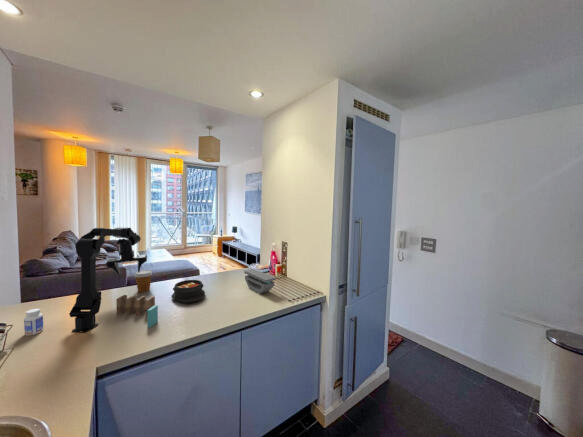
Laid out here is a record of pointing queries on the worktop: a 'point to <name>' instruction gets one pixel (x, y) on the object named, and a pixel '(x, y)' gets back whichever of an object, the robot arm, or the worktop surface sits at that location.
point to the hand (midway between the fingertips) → (129, 274)
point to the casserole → (188, 291)
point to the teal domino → (152, 315)
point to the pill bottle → (33, 322)
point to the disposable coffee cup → (143, 280)
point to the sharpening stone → (259, 281)
